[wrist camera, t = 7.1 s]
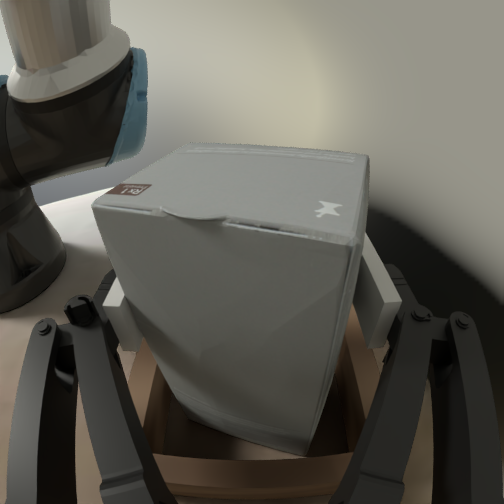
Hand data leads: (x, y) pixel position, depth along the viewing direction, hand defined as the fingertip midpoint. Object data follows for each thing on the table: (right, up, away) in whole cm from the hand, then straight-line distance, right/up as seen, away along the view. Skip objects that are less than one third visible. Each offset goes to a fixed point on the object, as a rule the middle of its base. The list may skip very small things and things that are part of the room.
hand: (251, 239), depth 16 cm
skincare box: (0, -11, +2) cm, 11 cm away
